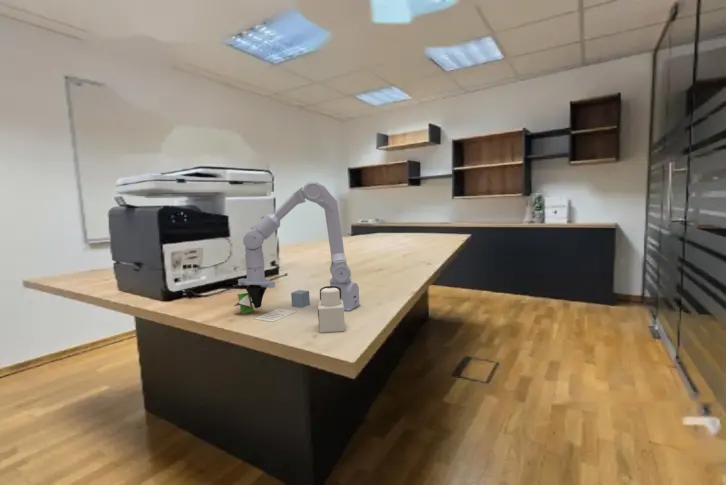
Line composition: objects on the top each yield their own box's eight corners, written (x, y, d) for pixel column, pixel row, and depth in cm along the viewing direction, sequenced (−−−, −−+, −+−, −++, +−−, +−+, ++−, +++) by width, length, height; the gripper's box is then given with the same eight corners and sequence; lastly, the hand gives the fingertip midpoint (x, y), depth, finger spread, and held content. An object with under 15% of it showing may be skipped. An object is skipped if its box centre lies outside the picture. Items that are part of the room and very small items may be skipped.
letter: (297, 311, 123) (297, 311, 123) (272, 322, 113) (272, 321, 113) (278, 308, 127) (278, 308, 127) (253, 318, 116) (253, 318, 116)
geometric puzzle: (230, 305, 125) (234, 288, 121) (249, 302, 129) (253, 285, 126) (237, 320, 121) (241, 303, 117) (256, 316, 125) (261, 299, 121)
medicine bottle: (319, 324, 109) (318, 285, 107) (343, 323, 109) (342, 283, 108) (319, 333, 101) (317, 290, 100) (344, 331, 102) (343, 289, 101)
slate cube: (309, 304, 131) (309, 291, 131) (302, 308, 127) (301, 293, 127) (299, 303, 133) (299, 289, 133) (291, 306, 129) (291, 292, 129)
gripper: (230, 268, 121) (232, 308, 122) (263, 270, 114) (265, 313, 116) (246, 264, 127) (248, 302, 129) (278, 266, 120) (280, 307, 122)
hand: (257, 307), depth 122 cm, fingers closed
